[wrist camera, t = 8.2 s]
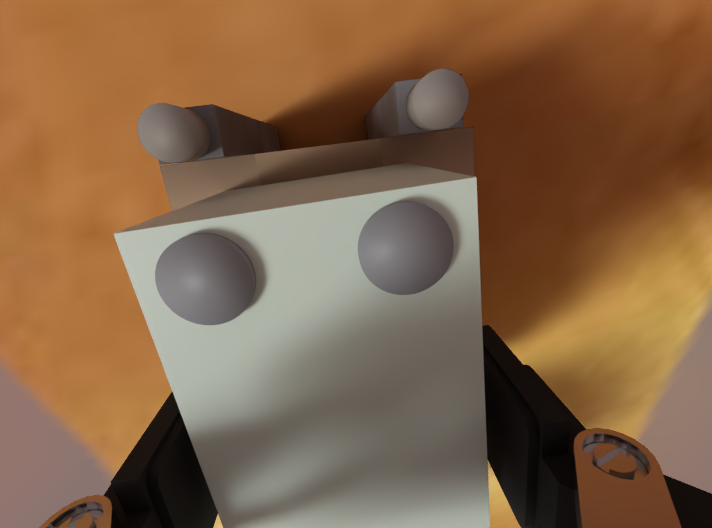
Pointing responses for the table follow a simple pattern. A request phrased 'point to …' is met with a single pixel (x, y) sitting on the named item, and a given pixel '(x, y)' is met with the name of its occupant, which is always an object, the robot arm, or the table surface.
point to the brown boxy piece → (271, 165)
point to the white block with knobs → (326, 347)
